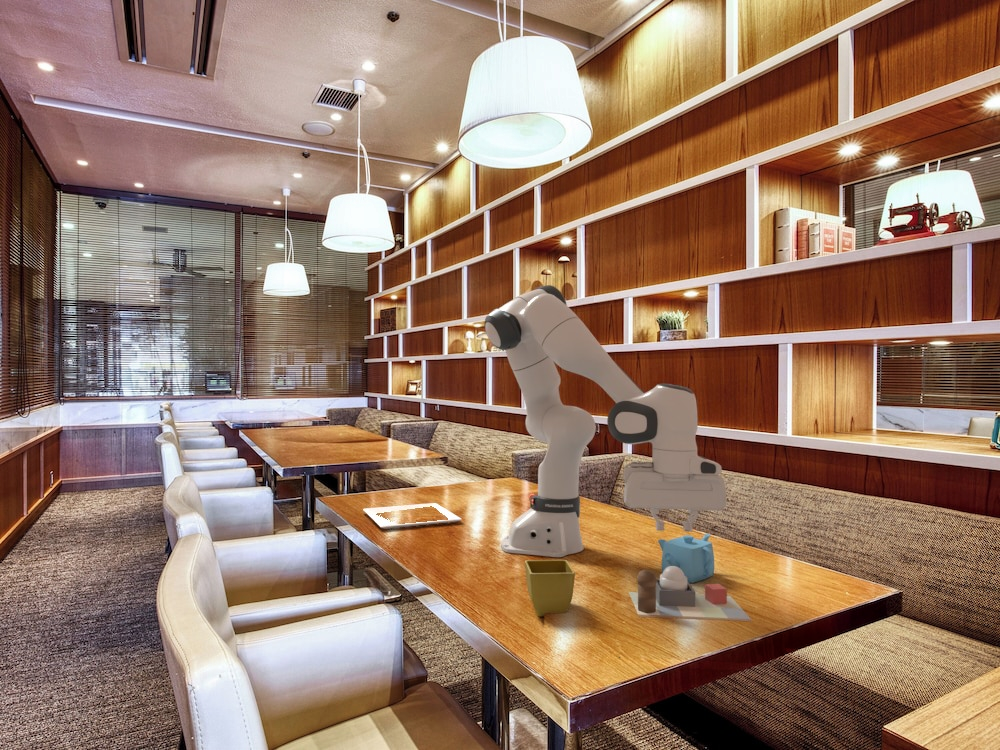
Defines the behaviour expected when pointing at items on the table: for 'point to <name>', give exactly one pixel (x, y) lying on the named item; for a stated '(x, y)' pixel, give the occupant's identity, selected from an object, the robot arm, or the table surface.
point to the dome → (673, 579)
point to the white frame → (388, 525)
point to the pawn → (646, 591)
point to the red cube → (715, 594)
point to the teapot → (689, 556)
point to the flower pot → (550, 585)
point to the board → (690, 606)
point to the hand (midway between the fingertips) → (673, 530)
